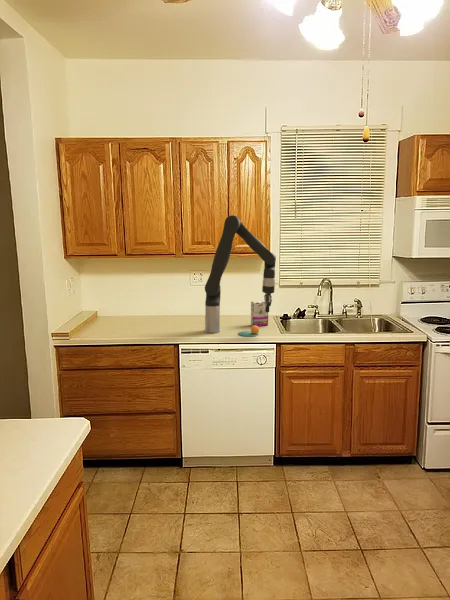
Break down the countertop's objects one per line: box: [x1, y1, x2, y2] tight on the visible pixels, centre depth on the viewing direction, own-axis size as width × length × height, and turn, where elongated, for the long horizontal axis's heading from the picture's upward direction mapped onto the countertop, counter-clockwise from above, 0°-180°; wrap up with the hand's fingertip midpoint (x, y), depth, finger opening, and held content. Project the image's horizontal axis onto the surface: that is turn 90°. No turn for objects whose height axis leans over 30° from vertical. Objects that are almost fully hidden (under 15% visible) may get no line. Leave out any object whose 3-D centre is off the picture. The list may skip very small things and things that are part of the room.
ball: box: [250, 325, 260, 334], centre depth 283 cm, size 6×6×6 cm
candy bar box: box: [250, 300, 269, 327], centre depth 304 cm, size 11×5×16 cm, turn 105°
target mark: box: [237, 330, 260, 338], centre depth 283 cm, size 13×13×1 cm
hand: (267, 312), depth 281 cm, fingers closed
